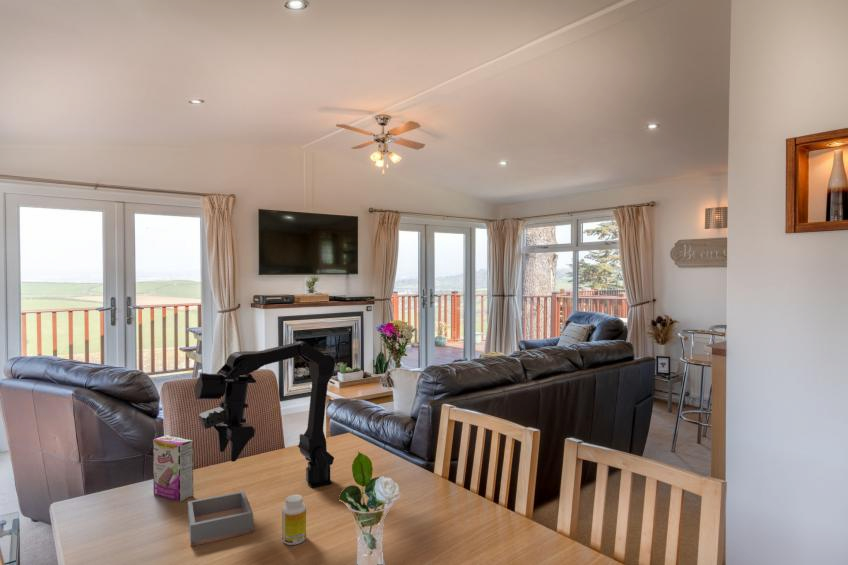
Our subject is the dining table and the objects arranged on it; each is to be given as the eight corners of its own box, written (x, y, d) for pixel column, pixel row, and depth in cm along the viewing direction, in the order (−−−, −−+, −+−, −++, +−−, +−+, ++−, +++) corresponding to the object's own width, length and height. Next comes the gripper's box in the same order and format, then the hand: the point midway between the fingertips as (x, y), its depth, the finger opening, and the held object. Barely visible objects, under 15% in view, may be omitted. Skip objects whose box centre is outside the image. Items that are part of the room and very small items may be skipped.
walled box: (244, 509, 138) (244, 490, 138) (252, 532, 126) (252, 512, 126) (187, 520, 132) (187, 501, 131) (190, 546, 119) (190, 525, 119)
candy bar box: (152, 495, 146) (151, 439, 146) (167, 488, 151) (167, 434, 150) (179, 503, 142) (179, 444, 141) (194, 495, 146) (194, 439, 146)
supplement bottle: (310, 540, 122) (310, 498, 122) (288, 548, 118) (288, 505, 118) (299, 531, 126) (299, 490, 126) (278, 539, 123) (278, 497, 123)
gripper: (194, 392, 141) (186, 449, 140) (215, 406, 127) (207, 470, 126) (234, 392, 148) (227, 446, 147) (259, 405, 134) (251, 465, 133)
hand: (227, 456), depth 138 cm, fingers open, 9 cm apart
